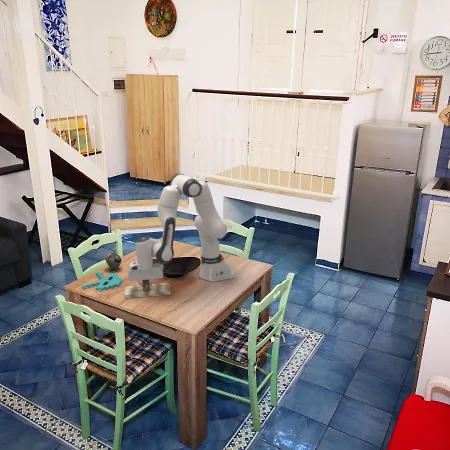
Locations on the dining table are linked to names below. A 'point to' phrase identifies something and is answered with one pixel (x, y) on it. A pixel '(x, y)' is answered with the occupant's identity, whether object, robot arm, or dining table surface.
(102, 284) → the alien figure
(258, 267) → the dining table surface
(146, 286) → the gauge
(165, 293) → the board
